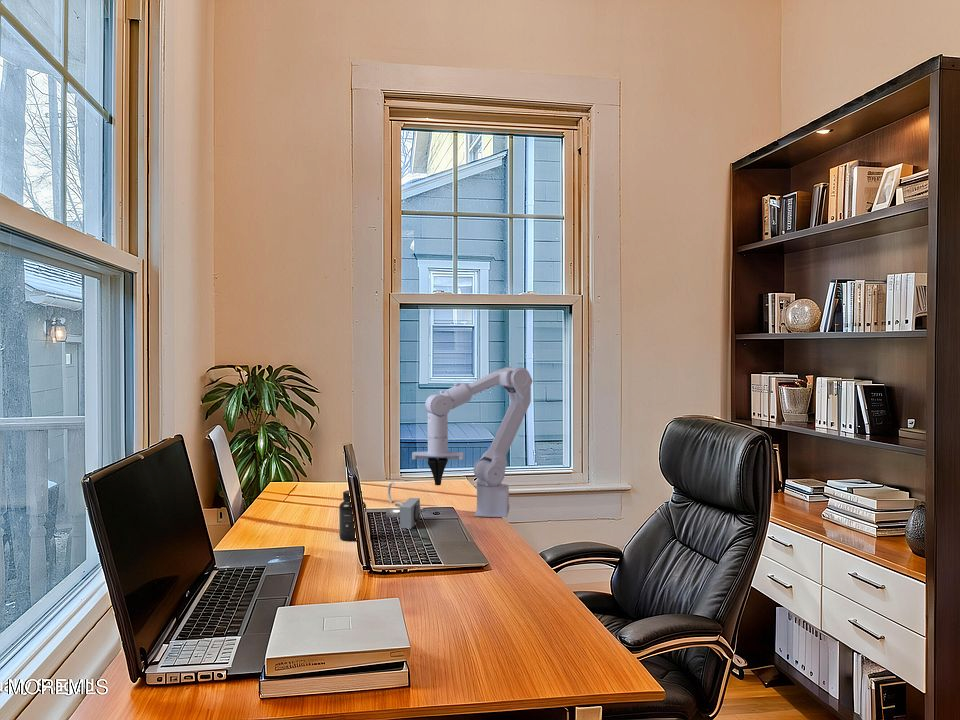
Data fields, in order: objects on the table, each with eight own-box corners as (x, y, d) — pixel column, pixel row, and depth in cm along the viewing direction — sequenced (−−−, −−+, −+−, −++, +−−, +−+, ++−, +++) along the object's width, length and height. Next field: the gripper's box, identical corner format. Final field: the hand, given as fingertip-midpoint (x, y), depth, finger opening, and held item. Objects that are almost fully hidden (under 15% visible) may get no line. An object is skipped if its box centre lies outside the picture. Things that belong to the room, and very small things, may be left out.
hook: (401, 499, 235) (427, 521, 218) (373, 502, 231) (397, 525, 213) (402, 477, 234) (428, 498, 217) (375, 480, 230) (398, 501, 212)
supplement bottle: (333, 539, 187) (333, 492, 186) (350, 533, 193) (350, 488, 193) (355, 542, 184) (355, 495, 183) (371, 536, 190) (371, 490, 189)
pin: (420, 519, 205) (420, 503, 204) (417, 523, 200) (417, 507, 200) (389, 519, 206) (389, 502, 206) (385, 522, 201) (385, 506, 201)
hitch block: (419, 519, 208) (419, 498, 208) (410, 529, 196) (410, 507, 196) (409, 518, 209) (409, 497, 209) (399, 529, 197) (399, 507, 197)
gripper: (464, 435, 211) (465, 482, 211) (415, 435, 212) (415, 481, 213) (461, 438, 204) (462, 487, 204) (410, 438, 205) (410, 486, 206)
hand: (438, 484), depth 208 cm, fingers closed
